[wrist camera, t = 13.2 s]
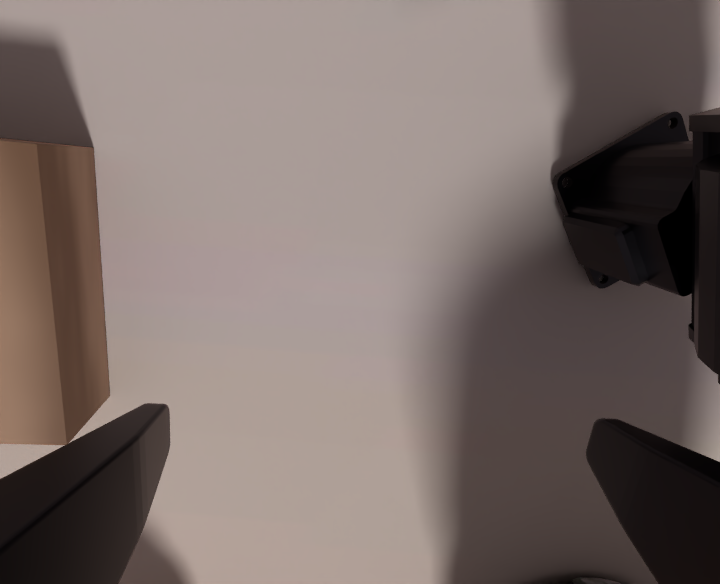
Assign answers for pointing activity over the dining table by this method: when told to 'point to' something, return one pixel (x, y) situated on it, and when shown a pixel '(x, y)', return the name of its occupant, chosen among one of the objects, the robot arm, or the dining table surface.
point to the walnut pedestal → (49, 293)
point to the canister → (593, 581)
